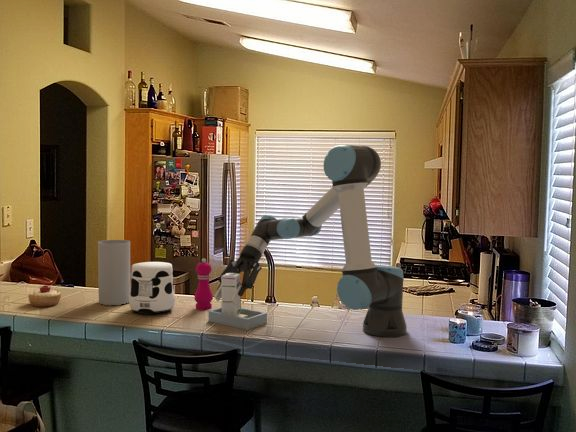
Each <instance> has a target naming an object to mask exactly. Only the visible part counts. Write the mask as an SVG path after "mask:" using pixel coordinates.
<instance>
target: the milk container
mask: <svg viewBox="0 0 576 432" xmlns="http://www.w3.org/2000/svg"><path fill="white" fill-rule="evenodd" d="M173 272H174V271H173V264H172V263H170V262H165V261H145V262H143V261H142V262H138V263H137V262H136V263H134V264H132V265H131V269H130V284H131V285H130V288H131V292H130V296H129V303H128V305H129V308H130V309H131V310H132V311H133V312H136V313H139V314H145V315H146V314H148V315H149V314H150V315H151V314H153V315H154V314H162V313H165V312H168V311H170V310H172V309H173V308H174V306H175V304H176V303H175V302H176V295H175V292H174V291H175V290H174V285H173V279H174V275H173Z"/></svg>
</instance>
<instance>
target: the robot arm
mask: <svg viewBox="0 0 576 432" xmlns="http://www.w3.org/2000/svg"><path fill="white" fill-rule="evenodd" d="M381 167H382V162H381V157H380V155H379V153H378V152H377V151H376V150H375V149H374V148H372V147H371V146H367V145H351V144H342V145H341V144H340V145H335V146H333V147H332V148H331V149H329V150H328V152H327V154H326V155H325V156H324V160H323V171H324V174H325V176H326V177H327V178H328V179H329V180H331V182H332V187H330V189H329V190H327V191H326V192H325V193H324V195H322V197H321V198H320V199H318V201H316V202H315V203H314V205H313V206H312V207H310V208H309V210H308V211H306V212H305V213H304V214H303V215H302V216H301V217H287V218H281V219H277V218H276V217H274V216H273V215H269V214H265V215H262V216H261V218H260V219H259V220H258V222H257V223H256V225H255V227H254V228H253V231H252V232H251V235H250V236H249V238H248V239H247V241H246V243H245V244H244V247H243V248H242V250H241V252H240V254H239V257H238V258H237V259H236V260H234V259H233V258H232V259H230V260H229V262H228V265H226V267H225V268H224V269H223V271H222V272H221V274H220V275H219V277H218V278H217V280H218V282H219V283H220V284H219V285H218V286H217V288H216V290H217V291H216V292H215V294H214V296H213V299H215V300H216V301H217V302H220V301H221V300H222V296H221V276H223V275H225V274H226V273H239V274H241V273H243V276H242V279H241V285H239V287H238V288H237V290H236V292H235V294H234V296H233V297H232V299H231V301H232V302H233V304H234V305H236V304H237V302H238V300H239V298H240V297H241V298H242V297H243V295H245V292H246V290H247V289H250V290H252V289H253V287H254V285H255V282H256V280H257V278H258V275H259V273H260V271H261V270H262V269H263V268H262V267H263V266H262V265H261V264H260V263H259V262H260V260H261V259H262V257H263V256H262V255H264V252H265V251H266V249H267V248H268V246H269V243H271V241H277V240H278V241H279V240H291V239H294V238H295V239H296V238H306V237H313V236H316V235H318V234H319V233H320V232H321V231H322V230H321V229H322V225H323V224H324V223H325V222H327V220H329V219H330V218H331V217H332V216H333V215H334V214H335V213H336V212H337V211H338V210H339V213H340V221H341V223H340V224H341V233H342V240H343V241H342V242H343V249H344V259H345V265H344V266H342V269H341V274H342V277H341V278H339V281H338V282H337V284H336V291H337V296H338V299H339V300H340V301H341V303H342V304H343V305H344V306H345V307H346V308H348V309H349V310H352V311H358V310H366V309H367V311H366V314H365V317H364V320H363V322H362V331H363V332H364V333H365V334H368V335H372V336H376V337H381V338H382V337H383V338H394V337H395V338H396V337H402V336H405V335H406V334H407V332H408V331H407V329H408V327H407V322H406V319H405V315H404V312H403V297H404V296H403V294H404V280H405V278H404V270H403V269H402V268H400V267H397V266H393V265H385V264H376V263H374V262H373V261H372V260H373V259H372V251H371V242H370V234H369V233H370V232H369V224H368V216H367V208H366V207H367V206H366V199H365V188H367V187H368V186H369V185H370V184H371V183H372V182H373V181H374V180H375V179H376V178H377V176H378V174H379V173H380V171H381Z"/></svg>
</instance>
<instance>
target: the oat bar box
mask: <svg viewBox="0 0 576 432" xmlns="http://www.w3.org/2000/svg"><path fill="white" fill-rule="evenodd" d="M237 316H239V317H243V318H248V315H243V314H238V315H237Z"/></svg>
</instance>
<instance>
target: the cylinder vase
mask: <svg viewBox="0 0 576 432" xmlns="http://www.w3.org/2000/svg"><path fill="white" fill-rule="evenodd" d="M97 266H98V268H97V269H98V270H97V273H98V274H97V277H98V285H97V286H98V303H99V304H100V305H102V304H103V305H102V306H107V305H117V306H122V305H121V304H124V305H127V304H129V296H130V292H131V241H130V240H128V239H127V240H126V239H106V240H99V241H97ZM126 303H127V304H126Z"/></svg>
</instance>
